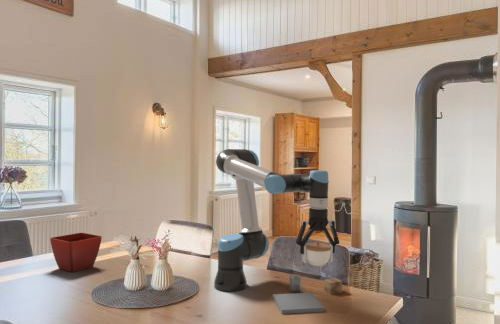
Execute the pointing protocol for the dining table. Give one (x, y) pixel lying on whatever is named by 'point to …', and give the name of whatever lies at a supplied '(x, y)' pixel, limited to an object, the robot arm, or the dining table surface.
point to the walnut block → (333, 286)
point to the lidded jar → (317, 253)
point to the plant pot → (75, 251)
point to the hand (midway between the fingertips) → (317, 261)
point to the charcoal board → (297, 303)
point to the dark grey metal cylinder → (295, 283)
